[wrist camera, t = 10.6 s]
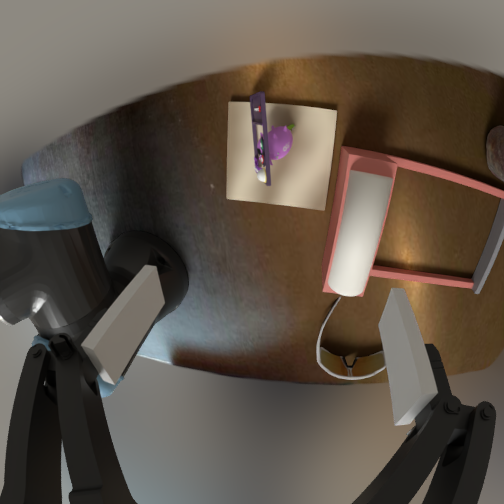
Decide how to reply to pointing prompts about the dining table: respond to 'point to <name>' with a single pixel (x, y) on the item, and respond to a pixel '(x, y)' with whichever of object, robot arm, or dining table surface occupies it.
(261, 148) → the purple toy
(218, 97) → the dining table surface
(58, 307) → the robot arm
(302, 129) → the plate
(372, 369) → the sunglasses
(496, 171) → the brown stone cylinder
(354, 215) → the frame
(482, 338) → the dining table surface
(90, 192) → the dining table surface
